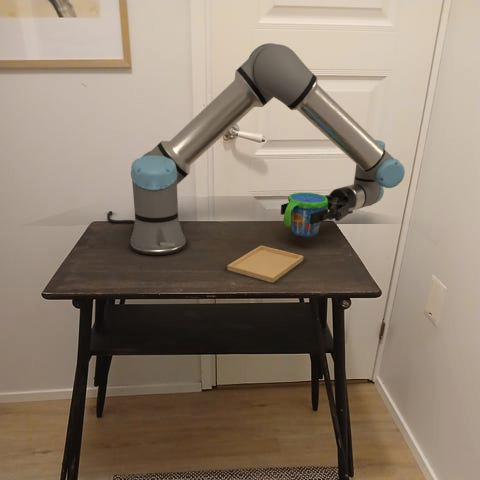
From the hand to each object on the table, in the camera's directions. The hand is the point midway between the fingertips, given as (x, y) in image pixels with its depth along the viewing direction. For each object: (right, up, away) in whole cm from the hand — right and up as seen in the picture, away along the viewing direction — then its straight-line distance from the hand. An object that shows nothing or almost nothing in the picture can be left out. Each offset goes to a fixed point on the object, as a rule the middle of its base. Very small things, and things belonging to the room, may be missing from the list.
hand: (296, 214), depth 131 cm
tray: (-8, -14, -4) cm, 17 cm away
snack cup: (+3, -4, +6) cm, 8 cm away
